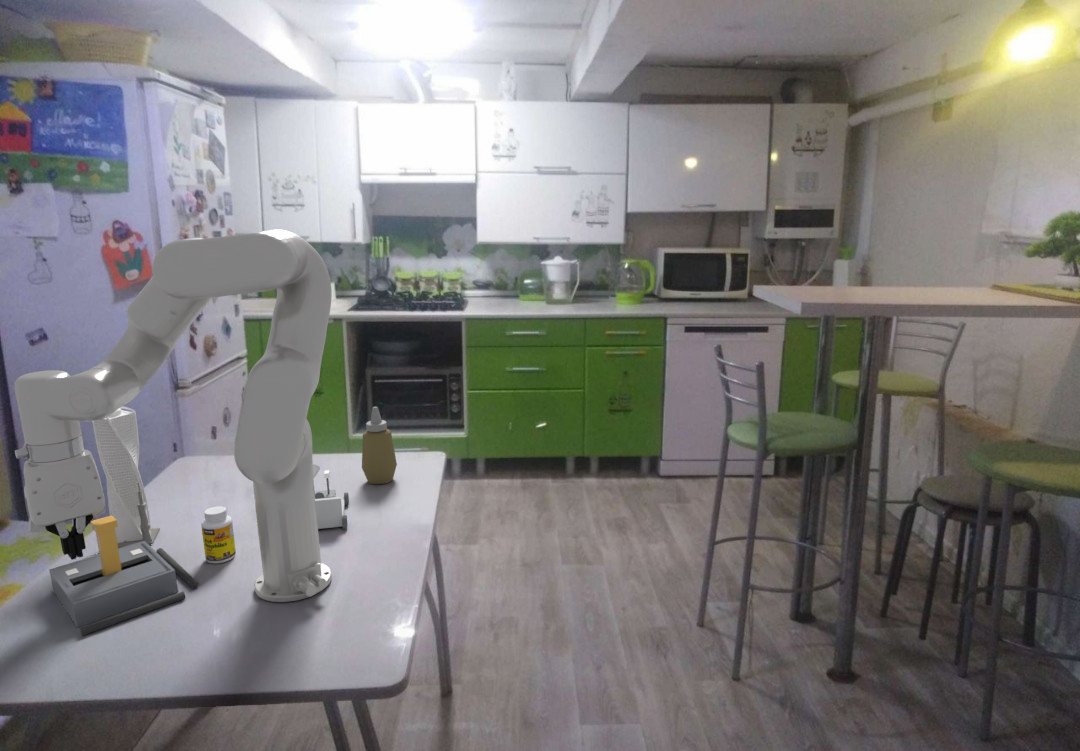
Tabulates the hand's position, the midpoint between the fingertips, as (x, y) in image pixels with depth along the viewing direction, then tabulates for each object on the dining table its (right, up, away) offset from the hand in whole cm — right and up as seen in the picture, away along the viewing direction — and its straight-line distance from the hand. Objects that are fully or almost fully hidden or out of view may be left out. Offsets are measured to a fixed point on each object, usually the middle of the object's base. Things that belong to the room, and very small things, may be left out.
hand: (75, 555), depth 119 cm
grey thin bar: (+11, -9, -2) cm, 15 cm away
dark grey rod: (+11, -6, +12) cm, 17 cm away
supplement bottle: (+17, -5, +17) cm, 24 cm away
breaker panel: (+4, -7, +5) cm, 10 cm away
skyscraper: (-4, -3, +25) cm, 26 cm away
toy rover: (+30, -1, +35) cm, 46 cm away
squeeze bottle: (+38, +4, +53) cm, 66 cm away
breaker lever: (+3, -4, +5) cm, 7 cm away
